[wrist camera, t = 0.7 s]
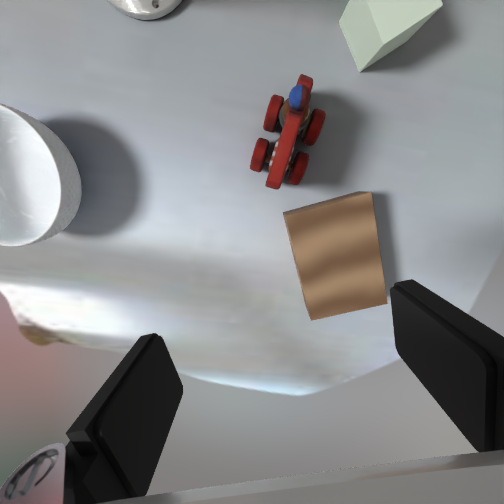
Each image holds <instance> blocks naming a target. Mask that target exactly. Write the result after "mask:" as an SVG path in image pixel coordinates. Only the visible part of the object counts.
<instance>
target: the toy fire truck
mask: <svg viewBox="0 0 504 504" xmlns="http://www.w3.org/2000/svg"><path fill="white" fill-rule="evenodd" d="M312 86H313V79H312V78H311V77H308V76H306V75H303V74H301V75H300V77H299V79H298V82H297V85H296V86H295V87H294V88H293V89H292V90H291V92H290V94H289V98H288V99H287V100H286V101H285V103H284V105H283V102H284V98H283V97H282V96H278V95H273V96H272V97H271V100H270V103H269V106H268V109H267V113H266V116H265V121H264V126H263V128H264V130H266V131H269V132H274V131H275V129H276V126H277V123H278V121H280V124H281V126H282V128H283V129H282V132H281V136H280V138H279V139H278V140H277V142H276V145H275V147H274V151H273V154H272V155H269V154H267V151H268V147H269V141H268V140H266V139H263V138H259V139H258V140H257V143H256V146H255V149H254V152H253V156H252V160H251V165H250V169H251V170H253V171H256V172H261V170H262V168H263V164H264V162H268V163H270V164H269V174H268V178H267V181H266V185H265V186H266V187H269V188H273V189H279V188H280V186H281V184H282V180H283V177H284V175H285V174H286V171H287V169H289V170H290V172H289V176H288V182H289V183H291V184H294V185H298V184H299V183H300V181H301V180H302V177H303V175H304V173H305V170H306V167H307V164H308V160H309V155H308V154H307V153H304V152H301V151H299V152H297V154H296V156H295V158H294V160H293V163H292V162H290V159H291V156H292V153H293V150H294V144H295V141H296V137H297V135H300V136H303V138H302V143H303V144H306V145H308V146H313V145H314V143H315V142H316V140H317V138H318V136H319V133H320V131H321V128H322V126H323V123H324V119H325V115H326V113H325V112H324V111H322V110H319V109H314V110H313V112H312V113H311V115H310V105H309V102H310V98H311V94H310V92H311V89H312Z"/></svg>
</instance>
